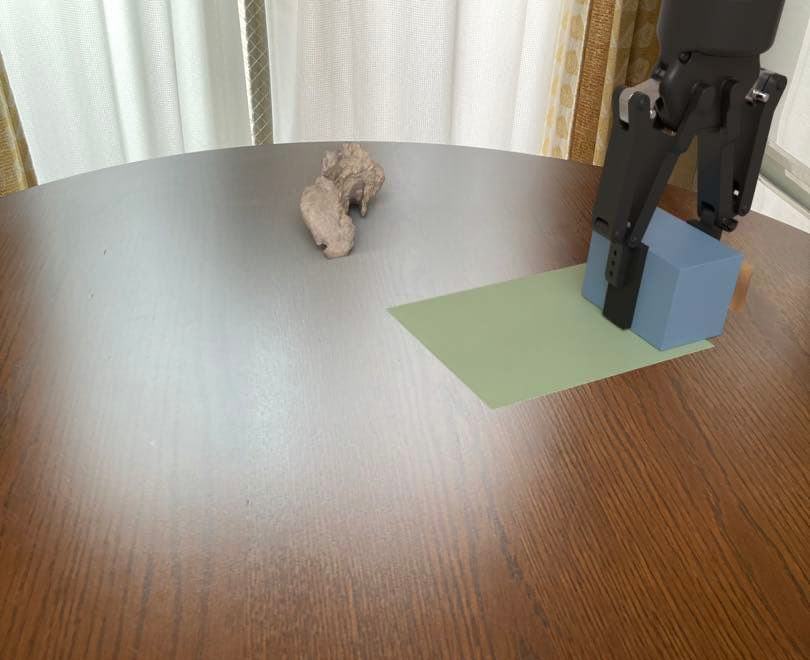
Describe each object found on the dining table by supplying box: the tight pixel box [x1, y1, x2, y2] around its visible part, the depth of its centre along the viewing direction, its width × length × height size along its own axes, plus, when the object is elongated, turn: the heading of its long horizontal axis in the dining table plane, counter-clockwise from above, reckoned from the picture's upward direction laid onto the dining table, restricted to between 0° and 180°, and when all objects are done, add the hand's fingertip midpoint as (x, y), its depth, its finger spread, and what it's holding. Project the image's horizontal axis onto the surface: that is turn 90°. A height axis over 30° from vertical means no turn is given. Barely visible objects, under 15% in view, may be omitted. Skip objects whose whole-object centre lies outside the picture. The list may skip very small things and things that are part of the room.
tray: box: [384, 262, 716, 411], centre depth 72 cm, size 20×16×1 cm
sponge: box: [582, 206, 745, 351], centre depth 71 cm, size 10×6×6 cm, turn 28°
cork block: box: [728, 259, 755, 314], centre depth 75 cm, size 4×4×4 cm
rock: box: [299, 141, 386, 260], centre depth 85 cm, size 6×14×7 cm, turn 165°
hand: (650, 312), depth 73 cm, fingers closed on sponge, 6 cm apart
